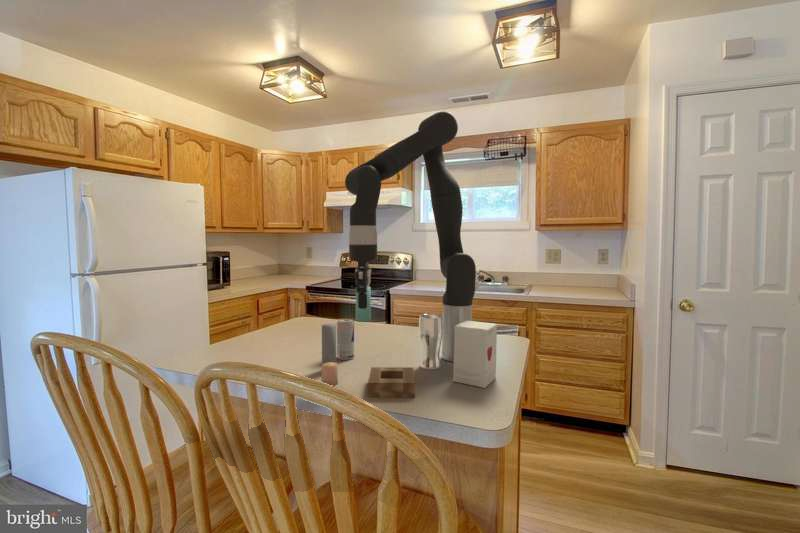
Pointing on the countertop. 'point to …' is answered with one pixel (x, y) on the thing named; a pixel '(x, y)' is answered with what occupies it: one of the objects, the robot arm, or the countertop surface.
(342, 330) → the energy drink
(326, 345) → the long dowel
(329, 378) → the short dowel
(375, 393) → the brown wooden square frame
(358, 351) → the countertop surface
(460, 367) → the supplement box
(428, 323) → the beer glass
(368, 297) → the medium dowel
